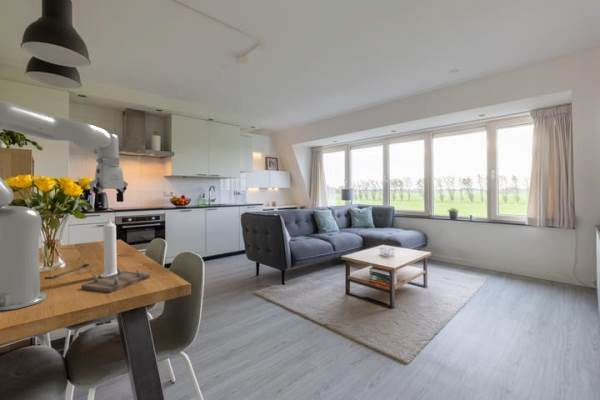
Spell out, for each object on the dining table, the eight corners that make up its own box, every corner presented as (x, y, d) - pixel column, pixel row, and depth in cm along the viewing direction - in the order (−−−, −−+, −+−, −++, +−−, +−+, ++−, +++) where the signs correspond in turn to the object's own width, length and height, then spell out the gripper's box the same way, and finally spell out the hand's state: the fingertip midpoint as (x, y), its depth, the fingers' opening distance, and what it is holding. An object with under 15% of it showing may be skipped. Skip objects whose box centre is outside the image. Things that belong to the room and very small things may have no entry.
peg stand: (110, 292, 99) (110, 281, 99) (81, 288, 103) (81, 278, 103) (150, 277, 117) (149, 268, 117) (123, 274, 120) (123, 265, 120)
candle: (101, 278, 115) (100, 219, 114) (100, 274, 120) (98, 217, 119) (121, 275, 119) (120, 218, 118) (119, 271, 125) (118, 216, 124)
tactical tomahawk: (58, 281, 114) (58, 279, 114) (43, 280, 114) (43, 277, 114) (99, 267, 135) (99, 264, 135) (86, 265, 135) (86, 263, 135)
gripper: (95, 160, 109) (97, 203, 110) (132, 164, 126) (133, 201, 126) (81, 161, 111) (83, 203, 112) (119, 164, 128) (121, 201, 128)
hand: (110, 202), depth 119 cm, fingers open, 9 cm apart
